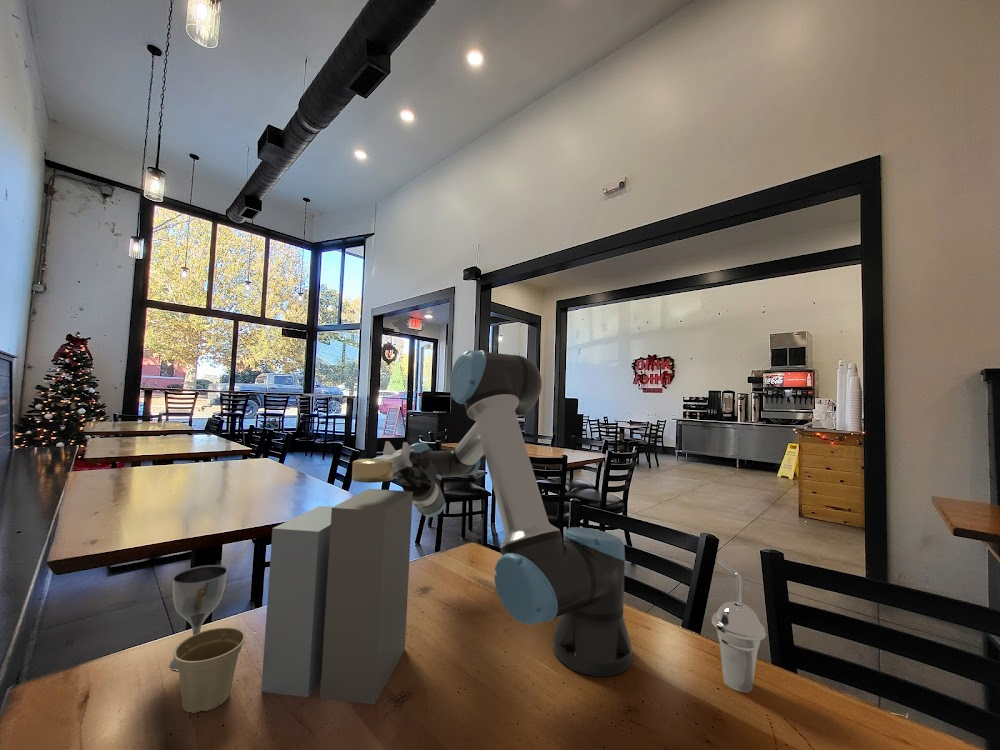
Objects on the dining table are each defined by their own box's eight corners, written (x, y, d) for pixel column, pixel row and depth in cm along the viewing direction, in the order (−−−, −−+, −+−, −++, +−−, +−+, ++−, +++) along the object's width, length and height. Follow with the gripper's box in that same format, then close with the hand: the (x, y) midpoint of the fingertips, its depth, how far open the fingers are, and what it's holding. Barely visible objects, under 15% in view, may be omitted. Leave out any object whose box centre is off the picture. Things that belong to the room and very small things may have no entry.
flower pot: (215, 725, 62) (219, 663, 62) (151, 721, 62) (156, 659, 62) (254, 681, 71) (258, 628, 71) (199, 678, 71) (203, 625, 72)
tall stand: (404, 649, 82) (412, 491, 83) (374, 704, 67) (384, 511, 69) (359, 644, 83) (368, 488, 84) (320, 698, 68) (331, 507, 69)
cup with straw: (718, 695, 72) (719, 574, 73) (705, 663, 81) (706, 556, 82) (774, 705, 70) (774, 581, 72) (754, 671, 79) (754, 561, 80)
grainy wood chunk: (422, 463, 94) (423, 449, 94) (384, 483, 71) (385, 465, 71) (392, 462, 94) (392, 448, 95) (344, 481, 72) (345, 463, 72)
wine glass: (226, 659, 76) (232, 574, 77) (171, 679, 71) (178, 587, 72) (214, 641, 82) (220, 561, 83) (162, 658, 76) (169, 572, 77)
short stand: (350, 643, 83) (357, 508, 84) (308, 697, 68) (318, 531, 69) (311, 639, 84) (319, 505, 85) (261, 691, 69) (272, 528, 70)
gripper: (450, 503, 102) (430, 467, 83) (385, 499, 104) (351, 463, 84) (454, 473, 106) (437, 432, 87) (392, 470, 108) (361, 429, 88)
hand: (395, 447), depth 86 cm, fingers closed on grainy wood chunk, 3 cm apart
